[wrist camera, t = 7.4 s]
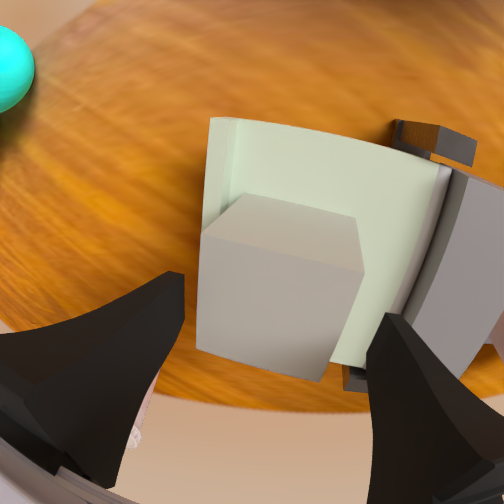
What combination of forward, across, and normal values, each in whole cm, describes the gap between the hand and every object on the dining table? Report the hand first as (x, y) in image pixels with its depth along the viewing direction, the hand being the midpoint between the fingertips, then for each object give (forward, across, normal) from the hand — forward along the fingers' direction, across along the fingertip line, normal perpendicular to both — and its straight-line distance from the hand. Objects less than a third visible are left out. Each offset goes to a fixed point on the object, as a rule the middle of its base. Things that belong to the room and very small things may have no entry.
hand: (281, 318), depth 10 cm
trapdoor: (+4, -6, 0) cm, 7 cm away
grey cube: (+4, 0, 0) cm, 5 cm away
